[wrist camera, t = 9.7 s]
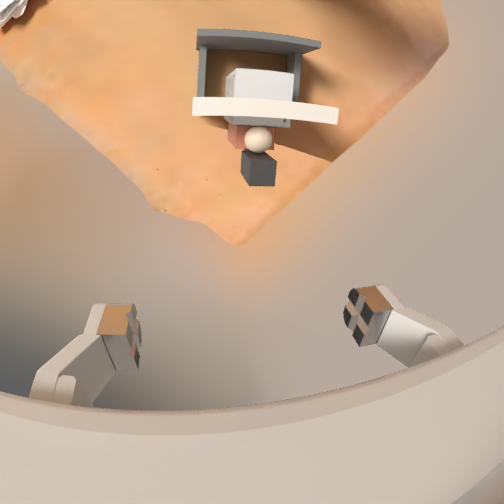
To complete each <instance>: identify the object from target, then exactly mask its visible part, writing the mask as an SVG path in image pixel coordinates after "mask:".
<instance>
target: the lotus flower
mask: <svg viewBox="0 0 504 504" xmlns="http://www.w3.org/2000/svg"><path fill="white" fill-rule="evenodd" d="M27 2H28V0H0V28H1V27H2V26H3V25H4V24H5V23H6V22H7V21H8V20H9V19H10V18H11V17H13V18H18V17H19V16H21V15H22V14H23V13H24V10H25V8H26V5H27Z"/></svg>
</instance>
